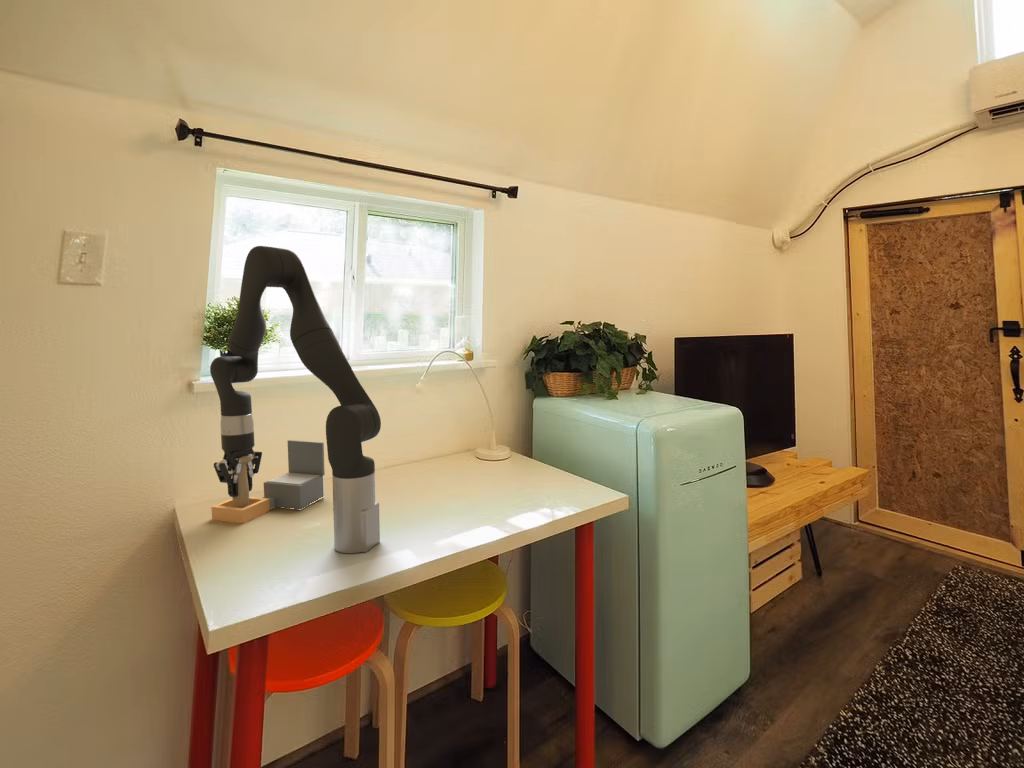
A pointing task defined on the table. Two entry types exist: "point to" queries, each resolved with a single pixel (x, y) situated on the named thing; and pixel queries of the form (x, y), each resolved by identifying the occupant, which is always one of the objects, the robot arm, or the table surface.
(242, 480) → the handle
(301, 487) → the chair with orange tray
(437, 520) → the table surface
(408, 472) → the table surface
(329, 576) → the table surface
